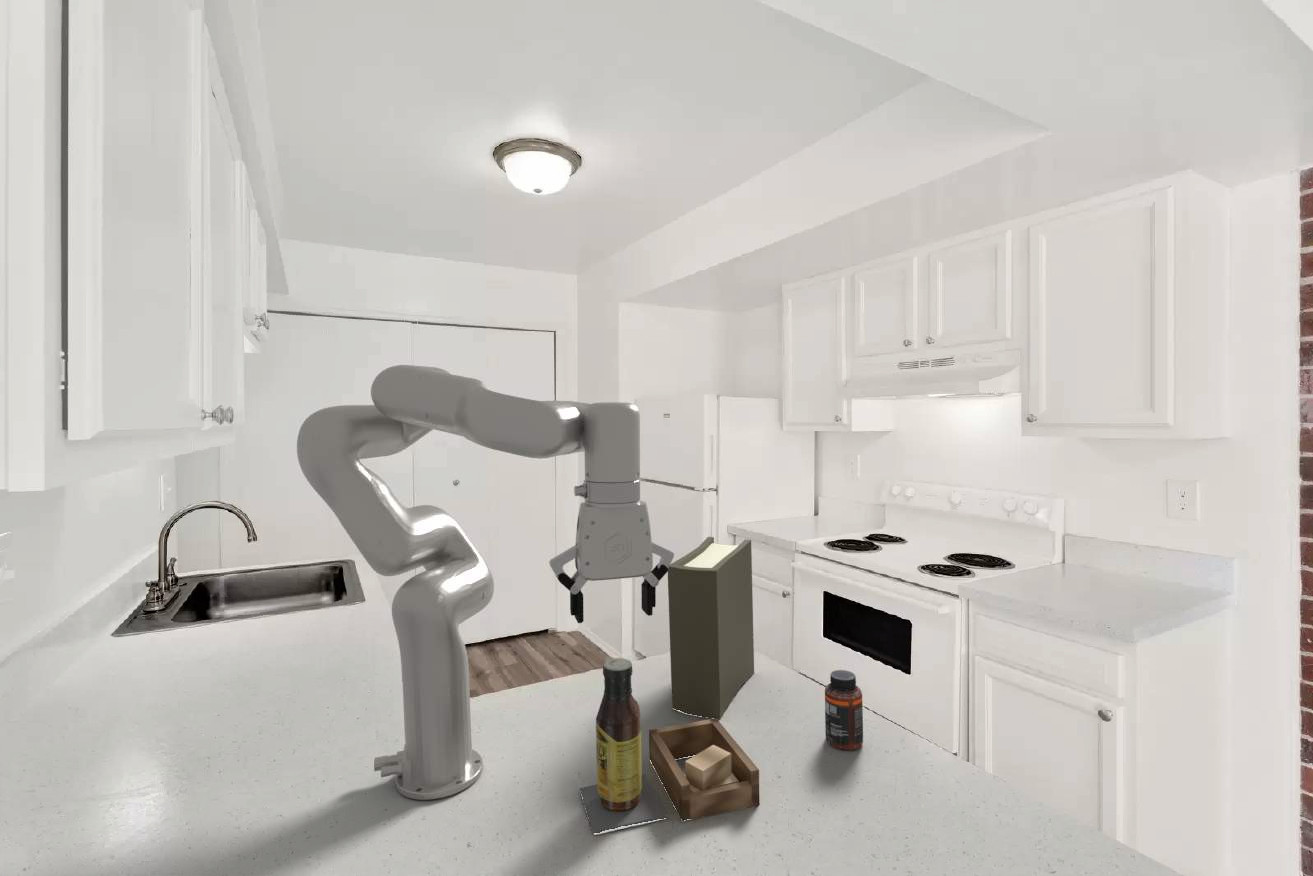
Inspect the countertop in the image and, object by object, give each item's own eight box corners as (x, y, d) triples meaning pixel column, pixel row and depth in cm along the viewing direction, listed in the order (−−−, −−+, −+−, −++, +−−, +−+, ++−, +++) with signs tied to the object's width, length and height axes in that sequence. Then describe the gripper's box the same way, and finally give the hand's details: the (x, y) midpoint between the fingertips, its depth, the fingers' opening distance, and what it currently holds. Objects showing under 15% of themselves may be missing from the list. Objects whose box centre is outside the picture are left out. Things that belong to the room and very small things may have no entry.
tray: (682, 822, 85) (681, 786, 85) (649, 761, 100) (648, 730, 100) (759, 804, 89) (759, 769, 88) (716, 748, 103) (716, 718, 103)
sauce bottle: (597, 788, 92) (594, 653, 91) (640, 785, 93) (637, 651, 92) (597, 817, 86) (594, 673, 85) (644, 814, 86) (641, 670, 85)
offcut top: (703, 792, 87) (702, 771, 87) (685, 782, 90) (685, 761, 90) (731, 773, 92) (731, 753, 91) (713, 764, 94) (713, 744, 94)
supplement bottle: (863, 735, 106) (863, 669, 106) (862, 754, 101) (862, 684, 100) (826, 730, 108) (826, 665, 108) (823, 748, 103) (823, 680, 102)
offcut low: (693, 813, 88) (692, 792, 88) (682, 796, 91) (681, 776, 91) (738, 801, 90) (738, 781, 90) (726, 786, 94) (726, 766, 94)
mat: (593, 836, 83) (593, 831, 83) (579, 791, 93) (579, 787, 93) (666, 819, 86) (666, 815, 86) (645, 778, 96) (645, 774, 95)
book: (719, 724, 112) (714, 568, 110) (670, 714, 116) (665, 563, 114) (754, 673, 132) (751, 539, 129) (711, 666, 136) (708, 536, 133)
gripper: (552, 500, 81) (554, 632, 82) (681, 494, 86) (681, 618, 87) (545, 492, 88) (546, 614, 89) (664, 486, 93) (664, 602, 94)
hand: (613, 616), depth 88 cm, fingers open, 9 cm apart
